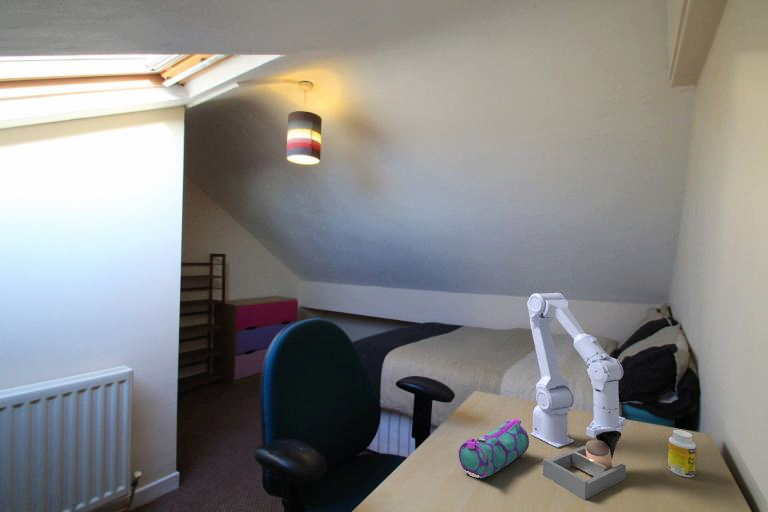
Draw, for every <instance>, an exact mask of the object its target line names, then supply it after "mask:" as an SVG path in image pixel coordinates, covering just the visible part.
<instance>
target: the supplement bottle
mask: <svg viewBox="0 0 768 512" xmlns="http://www.w3.org/2000/svg"><path fill="white" fill-rule="evenodd" d="M696 451H697V445H696V443H695V442H694V441H693V435H692V433H690V432H688V431H685V430H683V429H673V430H672V435H671V436H669V438H668V454H667V466H668V469H669V471H670V472H671V473H673V474H675V475H677V476H680V477H683V478H693V477H694V476H695V475H696V461H697V460H696V458H697V457H696V455H697V454H696V453H697V452H696Z"/></svg>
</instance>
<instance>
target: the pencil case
mask: <svg viewBox="0 0 768 512" xmlns="http://www.w3.org/2000/svg"><path fill="white" fill-rule="evenodd" d="M521 424H522V420H520V419H518V418H514V419H513V420H512V421H511V420H507V421H505V422H503V423H502V424H501V425H500V427H497V428H495V429H494V430H493V431H491V432H488V433H487V434H485V435H483V436H481V437H480V438H479V437H475V438H469V439H468V438H467V439H466V440H465V441H463V442H462V443H461V444H460V446H459V449H458V459H459V462H460V465H461V467H462V469H463V471H464V470H466V471H469V472H471V473H474V474H476V475H479V476H480V477H481V478H480V479H484V478H487V477H490V476H493V475H494V474H495V473H498V471H500V470H501V468H502V469H504V468H505V467H507V466H508V465H509V464H511V463H512V462H513V461H514V460H516V459H517V458H518V457H520V456H521V455H523V454H524V453H526V451H527V450H528V449H529V446H530V438H529V434H528V432H527V431H526V429H525V427H523V426H521Z"/></svg>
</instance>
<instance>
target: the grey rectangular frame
mask: <svg viewBox="0 0 768 512" xmlns="http://www.w3.org/2000/svg"><path fill="white" fill-rule="evenodd" d="M585 447H586V445H582V446H579V447H577V448H575V449H573V450H572V449H571V450H570V451H567V452H565V453H562V454H560V455H558V456H555V457H553V458H550V459H548V458H546V457H545V458H543V459H542V460H543V461H542V462H543V463H542V465H543V466H542V475H543V476H544V477H545V478H547V477H548V478H547V479H549V480H551V481H552V480H553V481H552V482H554V483H556V484H557V483H558V484H557V485H560V486H561V487H563V488H564V489H566V490H568V491H570V493H573V494H574V495H576V496H577V497H579V498H581V499H583V500H584V501H585V500H587V499H588V498H591V497H593V496H595V495H597V494H599V493H600V492H602V491H604V490H606V489H608V488H610V487H612V486H614V485H617V484H618V483H620V482H621V481H624V480H625V479H626V474H627V473H626V469H627V468H626V465H625V464H623V463H619V464H617V465H615V466H613V468H611V469H609V470H607V471H605V472H603V473H601V474H599V475H597V476H592V477H590V478H588V479H585V478H583V477H581V476H579V475H577V474H575V473H574V472H572V471H570V470H568V469H569V468H570V467H574V466H573V465H572V452H573V451H576V452H578V453H580V454H582V455H584V456H586V457H587V455H586V449H585Z"/></svg>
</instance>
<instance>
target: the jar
mask: <svg viewBox="0 0 768 512" xmlns="http://www.w3.org/2000/svg"><path fill="white" fill-rule="evenodd" d="M585 449H586V455H587V457H588V458H590V459H592V460H594V461H596V462H598V463H600V464H602V465H604V466H606V467H607V470H609V469H611V468H613V467H614V466H613V458H612V459H611V453H610V448H609V447H608V445H607V444H606V443H605V442H603V441H601V440H597V439H590V440H588V441H587V442H586V443H585Z"/></svg>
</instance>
